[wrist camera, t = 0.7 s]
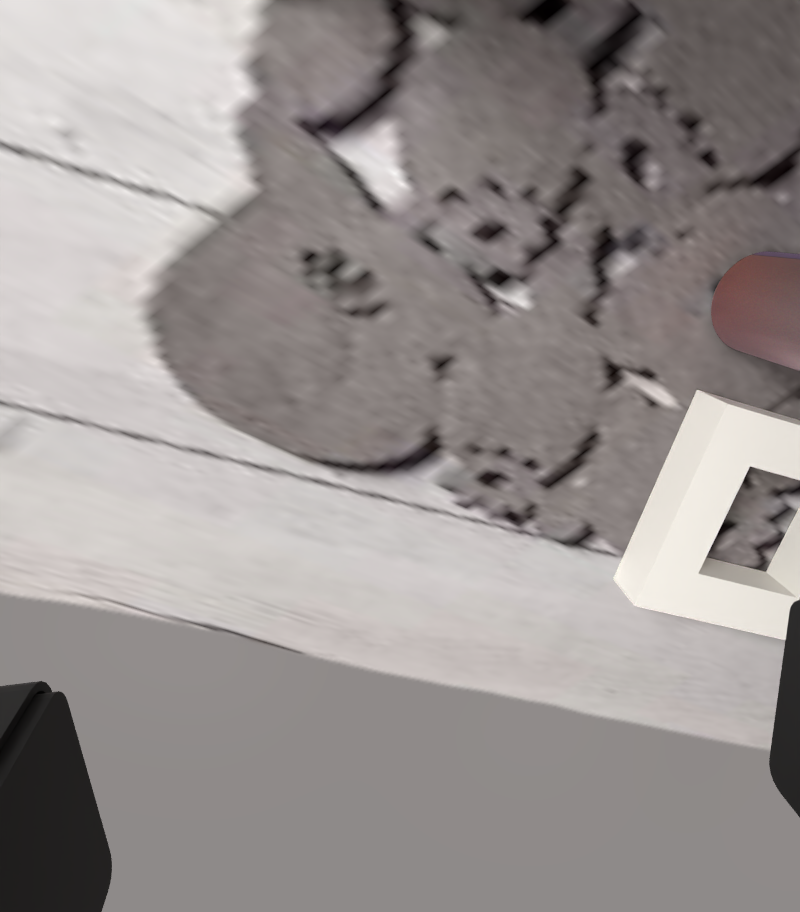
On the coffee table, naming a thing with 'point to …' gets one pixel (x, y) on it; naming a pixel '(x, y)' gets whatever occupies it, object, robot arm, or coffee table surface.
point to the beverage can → (761, 307)
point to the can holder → (714, 522)
